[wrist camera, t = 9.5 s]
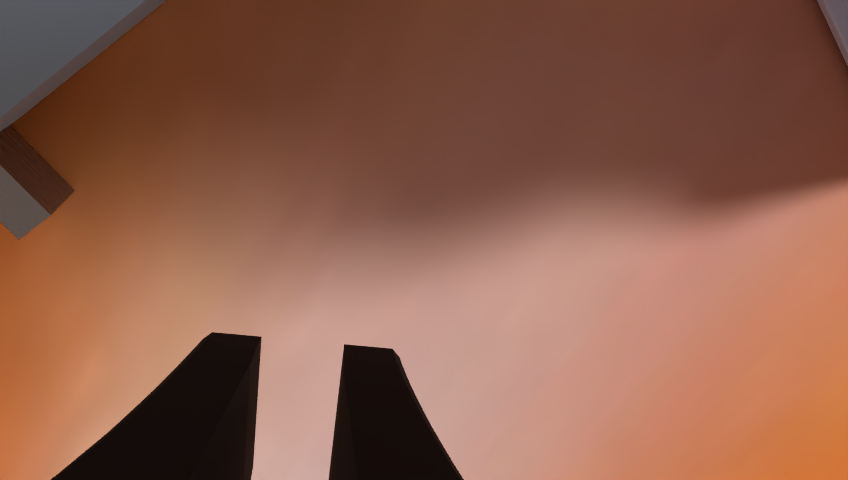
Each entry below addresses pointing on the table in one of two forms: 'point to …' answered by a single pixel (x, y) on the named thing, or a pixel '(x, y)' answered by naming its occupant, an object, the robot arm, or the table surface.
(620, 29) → the table surface
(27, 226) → the guide rail
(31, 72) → the sliding jaw
